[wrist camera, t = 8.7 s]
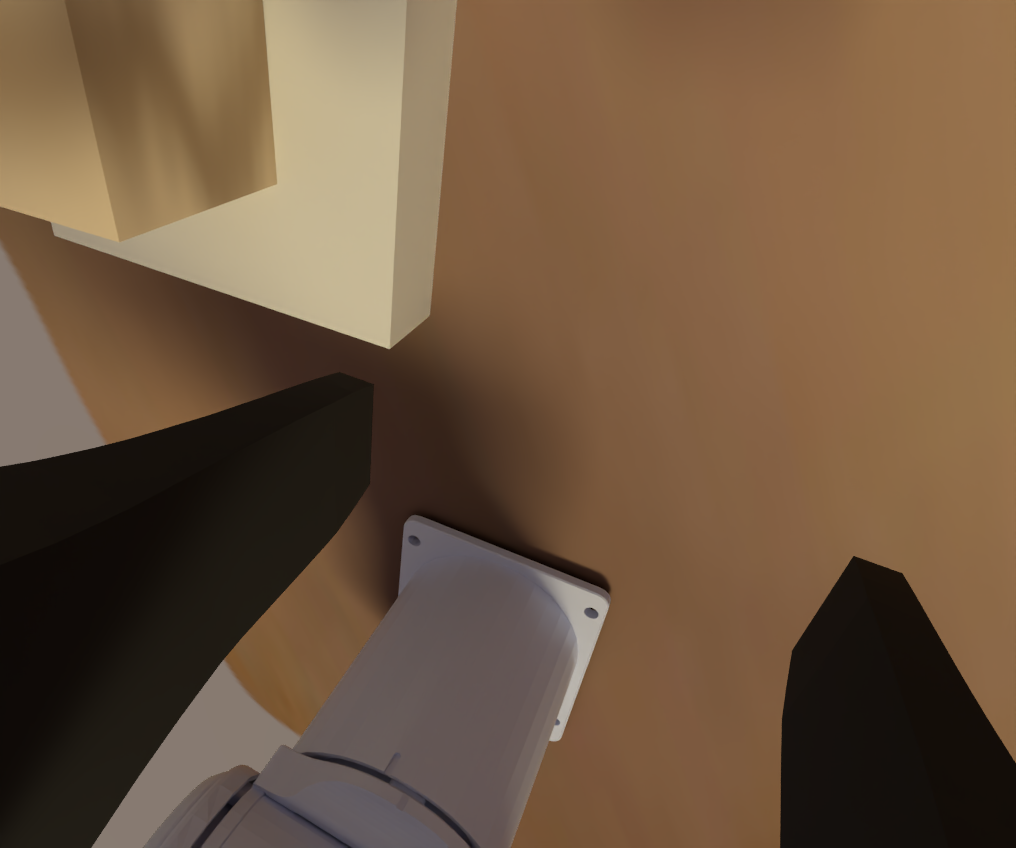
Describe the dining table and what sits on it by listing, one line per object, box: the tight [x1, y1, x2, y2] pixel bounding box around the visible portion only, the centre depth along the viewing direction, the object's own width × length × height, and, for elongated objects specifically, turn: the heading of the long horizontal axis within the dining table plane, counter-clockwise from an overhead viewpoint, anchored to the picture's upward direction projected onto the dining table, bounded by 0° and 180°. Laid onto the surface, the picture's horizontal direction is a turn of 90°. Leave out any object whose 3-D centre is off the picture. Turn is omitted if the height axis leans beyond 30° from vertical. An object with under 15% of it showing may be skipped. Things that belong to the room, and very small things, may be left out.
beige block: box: [51, 0, 457, 349], centre depth 18 cm, size 12×12×3 cm
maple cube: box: [0, 0, 277, 242], centre depth 14 cm, size 5×5×5 cm
